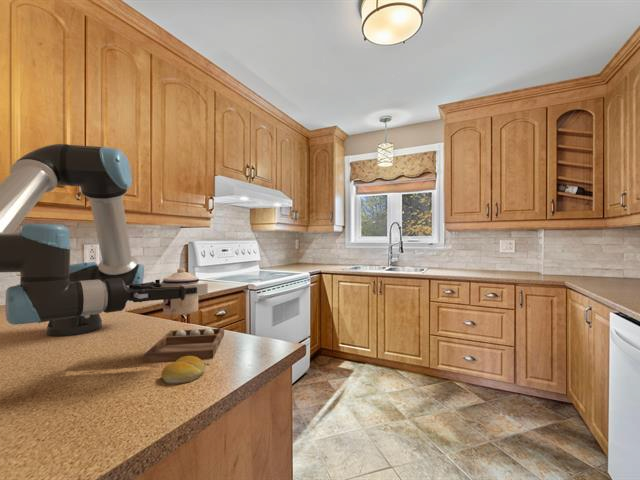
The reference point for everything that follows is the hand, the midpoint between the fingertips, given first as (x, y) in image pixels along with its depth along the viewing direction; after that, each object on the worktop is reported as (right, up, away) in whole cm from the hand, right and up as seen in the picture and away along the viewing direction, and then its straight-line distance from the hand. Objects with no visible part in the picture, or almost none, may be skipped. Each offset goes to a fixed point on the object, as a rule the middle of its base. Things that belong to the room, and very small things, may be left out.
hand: (195, 286), depth 88 cm
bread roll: (+4, -18, -16) cm, 24 cm away
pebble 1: (-7, -17, +7) cm, 20 cm away
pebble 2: (-3, -17, +8) cm, 19 cm away
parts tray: (-2, -18, +1) cm, 18 cm away
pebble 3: (+1, -17, +9) cm, 19 cm away
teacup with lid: (-3, -7, -3) cm, 8 cm away
